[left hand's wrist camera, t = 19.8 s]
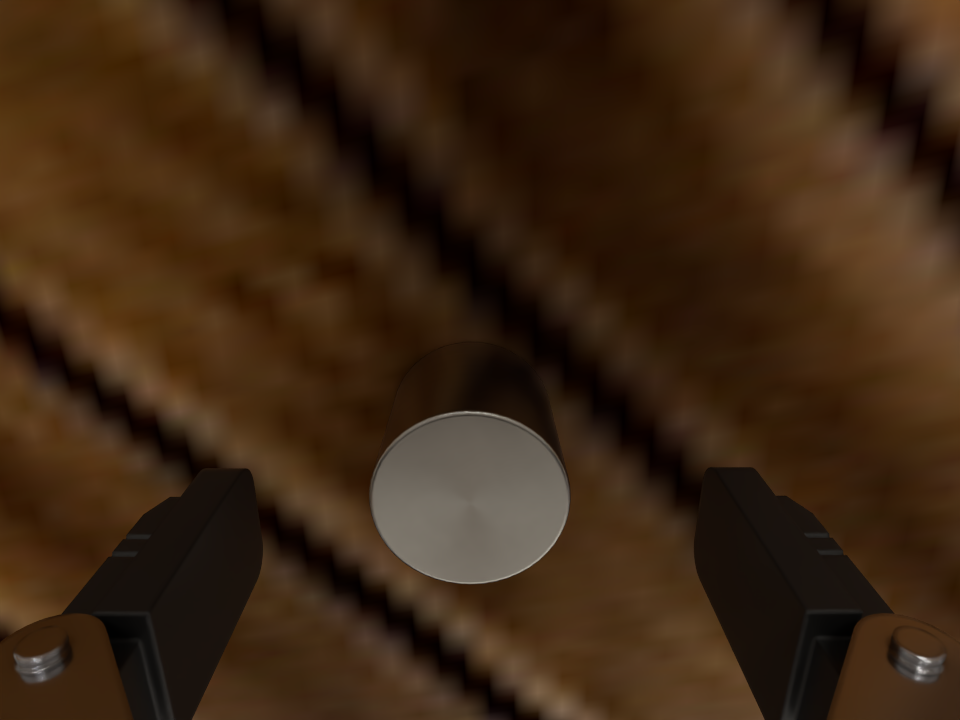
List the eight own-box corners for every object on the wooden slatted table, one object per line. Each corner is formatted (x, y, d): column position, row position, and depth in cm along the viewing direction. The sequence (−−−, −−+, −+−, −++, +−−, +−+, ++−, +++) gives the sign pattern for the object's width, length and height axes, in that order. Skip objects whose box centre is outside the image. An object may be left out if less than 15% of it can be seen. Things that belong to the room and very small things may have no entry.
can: (500, 311, 15) (506, 374, 12) (577, 438, 16) (606, 532, 13) (363, 389, 16) (328, 472, 12) (447, 506, 17) (438, 615, 13)
